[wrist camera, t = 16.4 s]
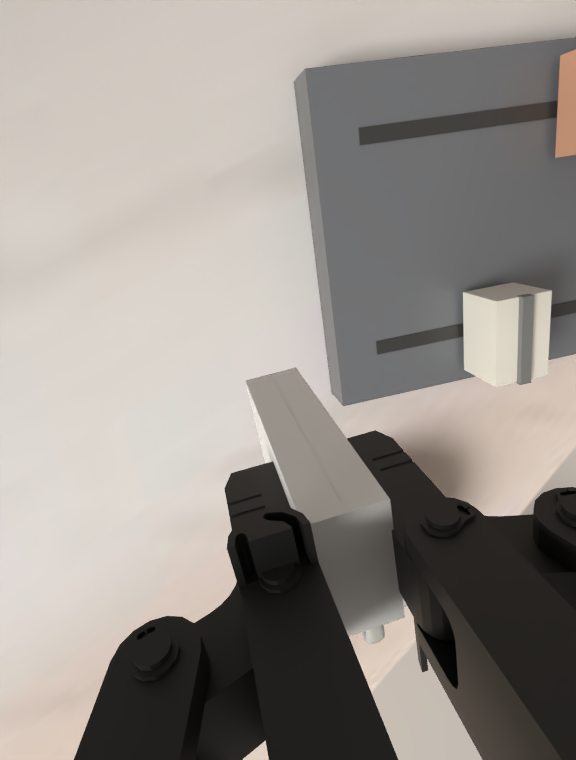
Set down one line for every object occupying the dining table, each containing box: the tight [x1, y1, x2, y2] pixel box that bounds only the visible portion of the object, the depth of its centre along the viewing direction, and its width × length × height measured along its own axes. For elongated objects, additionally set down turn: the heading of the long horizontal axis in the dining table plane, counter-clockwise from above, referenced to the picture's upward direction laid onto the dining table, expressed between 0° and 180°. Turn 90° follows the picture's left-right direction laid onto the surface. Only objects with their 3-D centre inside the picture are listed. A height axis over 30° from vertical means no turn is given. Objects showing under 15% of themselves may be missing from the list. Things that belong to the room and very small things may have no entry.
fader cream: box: [463, 282, 552, 387], centre depth 34 cm, size 6×4×4 cm, turn 8°
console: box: [294, 38, 576, 406], centre depth 35 cm, size 22×24×3 cm
